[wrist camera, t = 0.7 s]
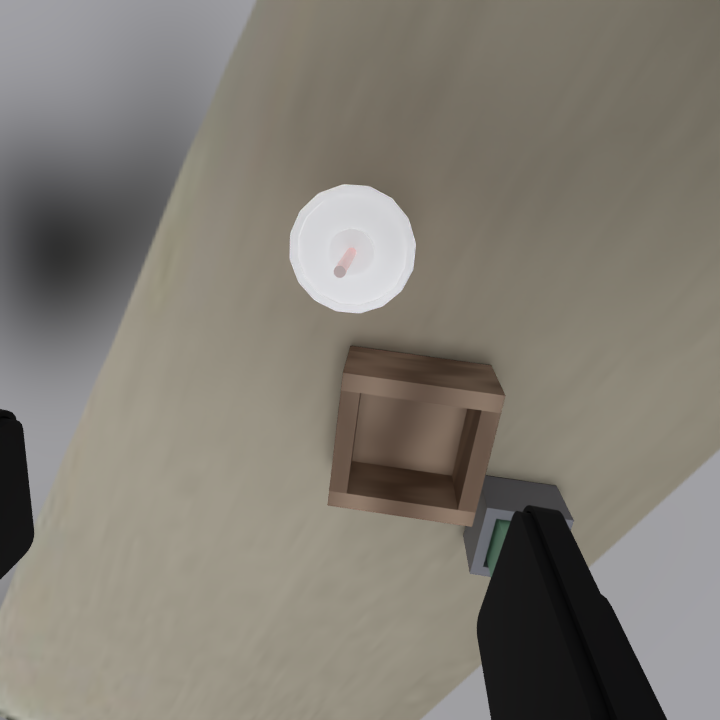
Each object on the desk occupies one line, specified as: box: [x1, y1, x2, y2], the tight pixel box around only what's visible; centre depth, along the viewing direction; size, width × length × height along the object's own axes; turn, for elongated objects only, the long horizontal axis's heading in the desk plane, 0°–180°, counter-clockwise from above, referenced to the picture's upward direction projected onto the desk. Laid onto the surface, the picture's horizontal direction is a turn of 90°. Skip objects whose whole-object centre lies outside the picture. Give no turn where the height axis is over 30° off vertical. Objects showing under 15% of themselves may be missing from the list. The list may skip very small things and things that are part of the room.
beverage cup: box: [290, 184, 416, 313], centre depth 25 cm, size 6×6×14 cm
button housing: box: [463, 476, 574, 577], centre depth 37 cm, size 6×6×4 cm
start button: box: [486, 519, 511, 577], centre depth 35 cm, size 4×4×5 cm
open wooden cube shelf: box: [328, 346, 505, 527], centre depth 34 cm, size 10×10×5 cm
